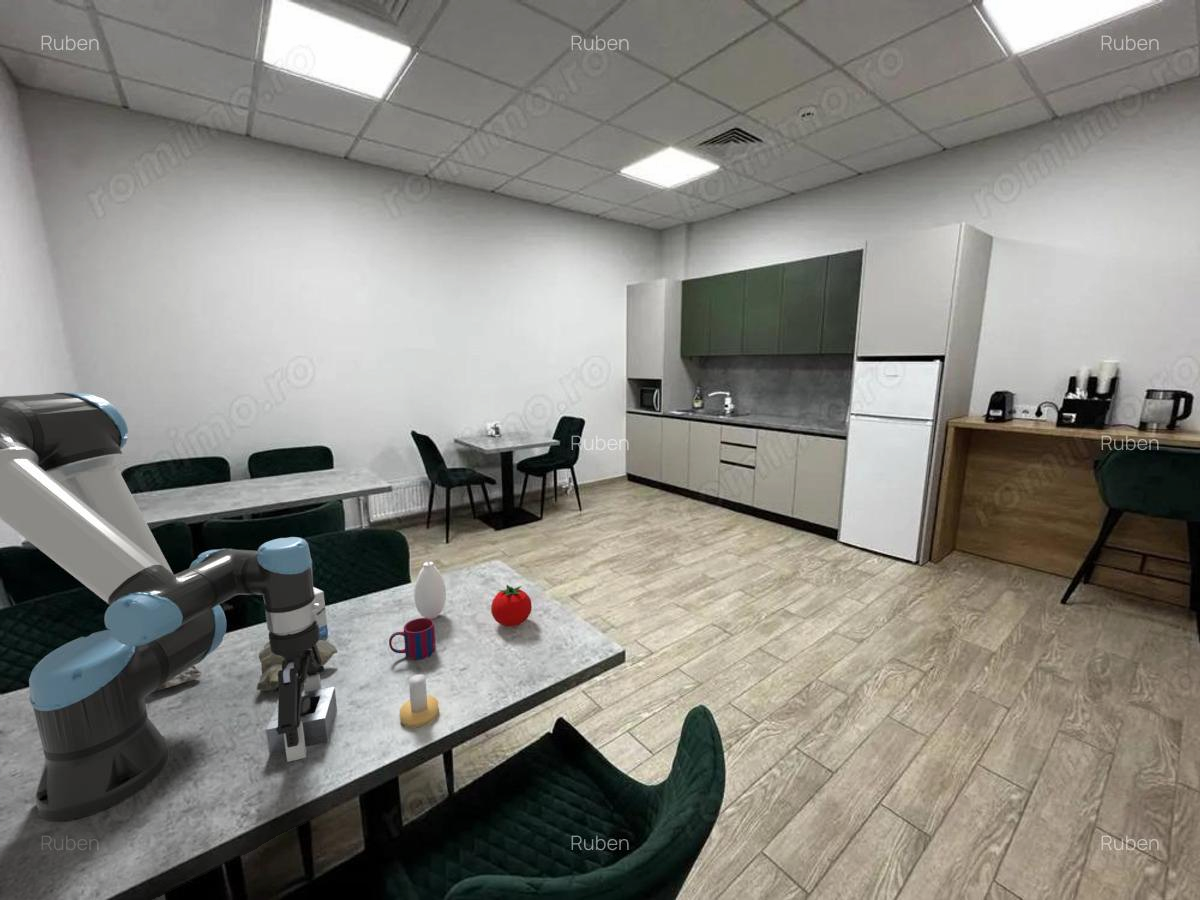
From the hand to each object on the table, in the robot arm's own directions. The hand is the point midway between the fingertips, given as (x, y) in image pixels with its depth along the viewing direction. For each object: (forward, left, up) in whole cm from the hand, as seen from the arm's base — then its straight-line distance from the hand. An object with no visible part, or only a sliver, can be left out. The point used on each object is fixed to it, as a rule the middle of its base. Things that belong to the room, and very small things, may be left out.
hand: (306, 730), depth 90 cm
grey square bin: (0, 0, 0) cm, 0 cm away
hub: (+20, -2, 0) cm, 20 cm away
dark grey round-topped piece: (0, 0, 0) cm, 0 cm away
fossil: (-6, +19, 0) cm, 20 cm away
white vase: (+22, +36, 0) cm, 42 cm away
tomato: (+42, +26, 0) cm, 49 cm away
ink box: (-7, +37, 0) cm, 38 cm away
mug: (+18, +20, 0) cm, 27 cm away
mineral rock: (-33, +26, -1) cm, 42 cm away
